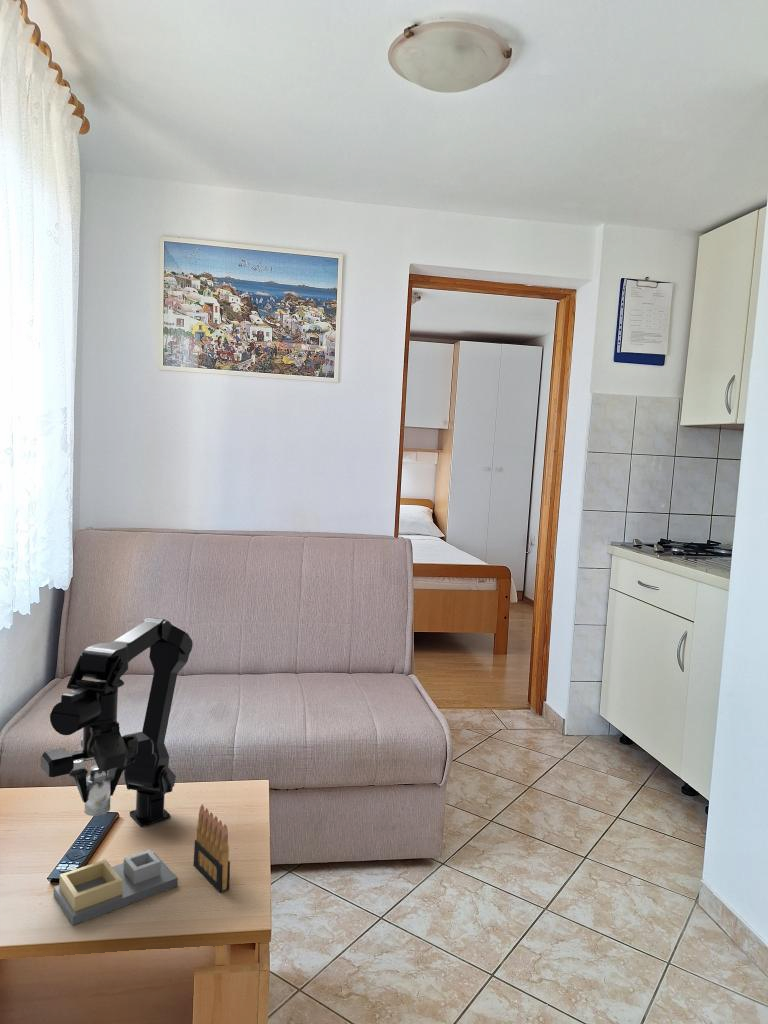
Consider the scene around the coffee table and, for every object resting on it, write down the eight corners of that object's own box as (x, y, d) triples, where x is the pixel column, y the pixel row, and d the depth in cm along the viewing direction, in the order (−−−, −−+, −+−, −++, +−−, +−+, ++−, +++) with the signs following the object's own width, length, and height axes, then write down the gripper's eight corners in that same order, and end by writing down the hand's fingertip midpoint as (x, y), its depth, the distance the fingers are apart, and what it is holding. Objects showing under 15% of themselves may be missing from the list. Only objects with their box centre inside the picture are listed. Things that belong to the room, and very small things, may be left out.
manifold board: (53, 894, 121) (54, 872, 121) (154, 860, 133) (154, 839, 133) (72, 925, 114) (73, 901, 114) (177, 885, 126) (178, 864, 125)
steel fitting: (81, 808, 130) (82, 766, 130) (105, 802, 133) (106, 761, 133) (89, 818, 127) (90, 775, 127) (113, 811, 130) (115, 769, 129)
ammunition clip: (229, 889, 125) (232, 825, 125) (220, 893, 124) (223, 828, 123) (202, 862, 134) (204, 801, 133) (193, 865, 132) (195, 803, 131)
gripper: (60, 740, 117) (57, 831, 118) (167, 719, 129) (164, 802, 130) (41, 720, 125) (38, 805, 126) (143, 702, 137) (140, 779, 138)
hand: (97, 798), depth 130 cm, fingers closed on steel fitting, 4 cm apart
